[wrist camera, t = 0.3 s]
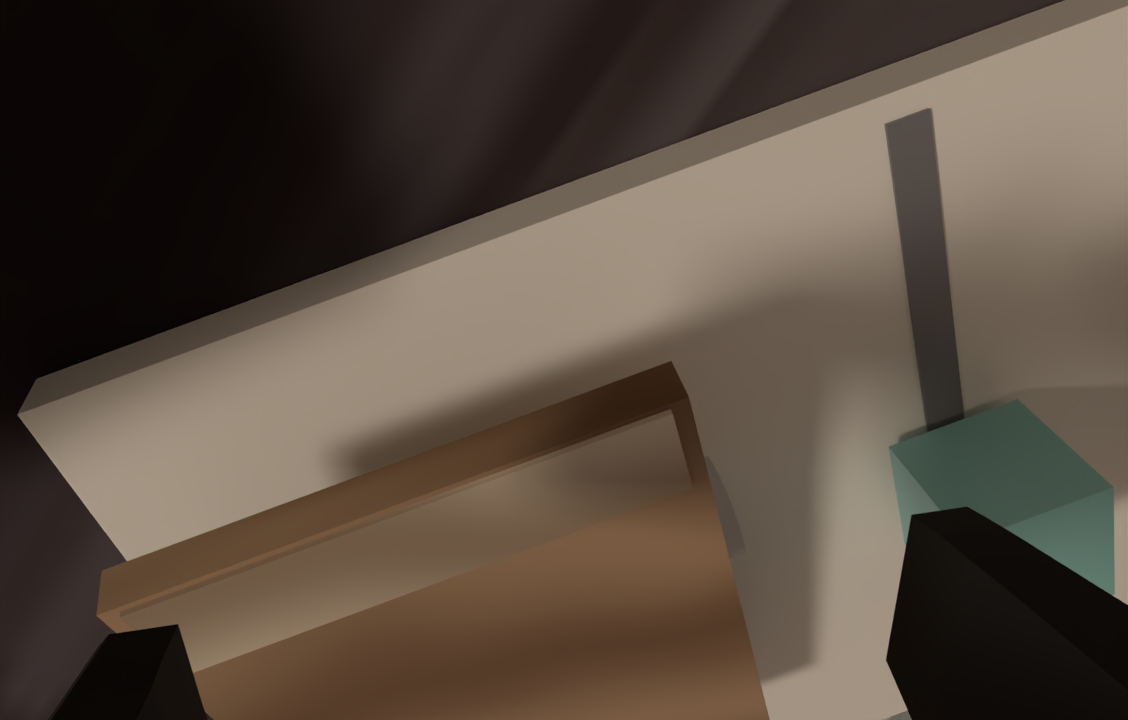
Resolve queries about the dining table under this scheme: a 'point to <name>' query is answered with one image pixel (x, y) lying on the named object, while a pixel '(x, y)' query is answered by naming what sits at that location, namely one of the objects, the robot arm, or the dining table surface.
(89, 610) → the dining table surface
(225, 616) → the panel
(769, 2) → the dining table surface
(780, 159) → the panel
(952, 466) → the teal slider
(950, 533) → the robot arm
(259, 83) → the dining table surface
